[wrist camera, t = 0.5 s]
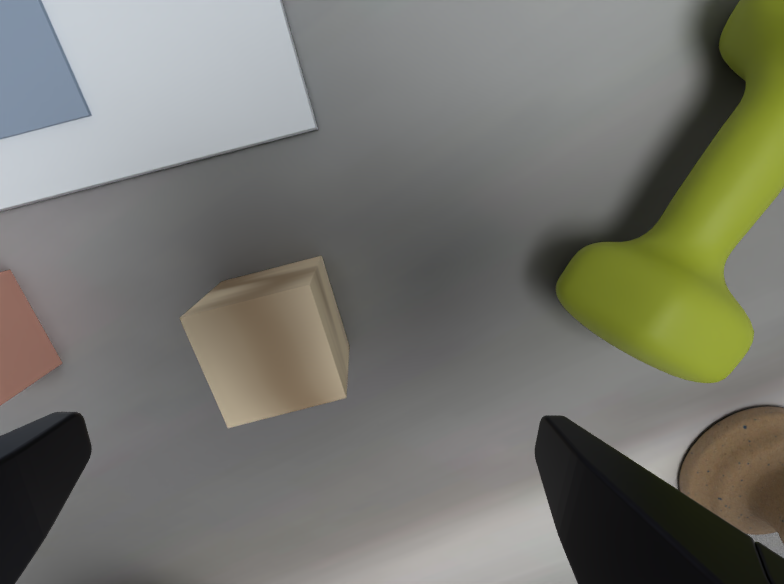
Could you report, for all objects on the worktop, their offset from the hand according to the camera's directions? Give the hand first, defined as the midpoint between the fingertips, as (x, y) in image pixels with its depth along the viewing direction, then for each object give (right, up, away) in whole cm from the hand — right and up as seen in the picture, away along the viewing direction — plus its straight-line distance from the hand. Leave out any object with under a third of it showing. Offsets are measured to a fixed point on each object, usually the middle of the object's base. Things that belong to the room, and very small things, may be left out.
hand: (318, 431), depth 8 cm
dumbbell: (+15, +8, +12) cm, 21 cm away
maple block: (-4, +2, +13) cm, 13 cm away
